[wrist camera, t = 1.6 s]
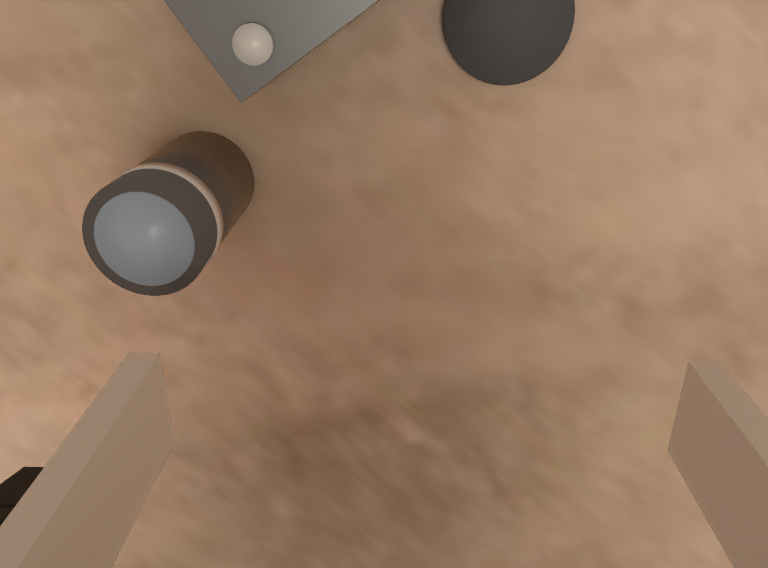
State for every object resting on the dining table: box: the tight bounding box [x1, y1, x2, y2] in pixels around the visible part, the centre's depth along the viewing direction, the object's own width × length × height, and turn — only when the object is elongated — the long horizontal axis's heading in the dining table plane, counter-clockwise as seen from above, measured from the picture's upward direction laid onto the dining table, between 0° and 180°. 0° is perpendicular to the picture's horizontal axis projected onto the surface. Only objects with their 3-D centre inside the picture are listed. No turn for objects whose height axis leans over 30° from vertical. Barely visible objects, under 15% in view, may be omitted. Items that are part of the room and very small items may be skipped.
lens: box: [82, 132, 254, 296], centre depth 30 cm, size 5×5×9 cm
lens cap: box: [443, 0, 575, 85], centre depth 30 cm, size 6×6×1 cm
